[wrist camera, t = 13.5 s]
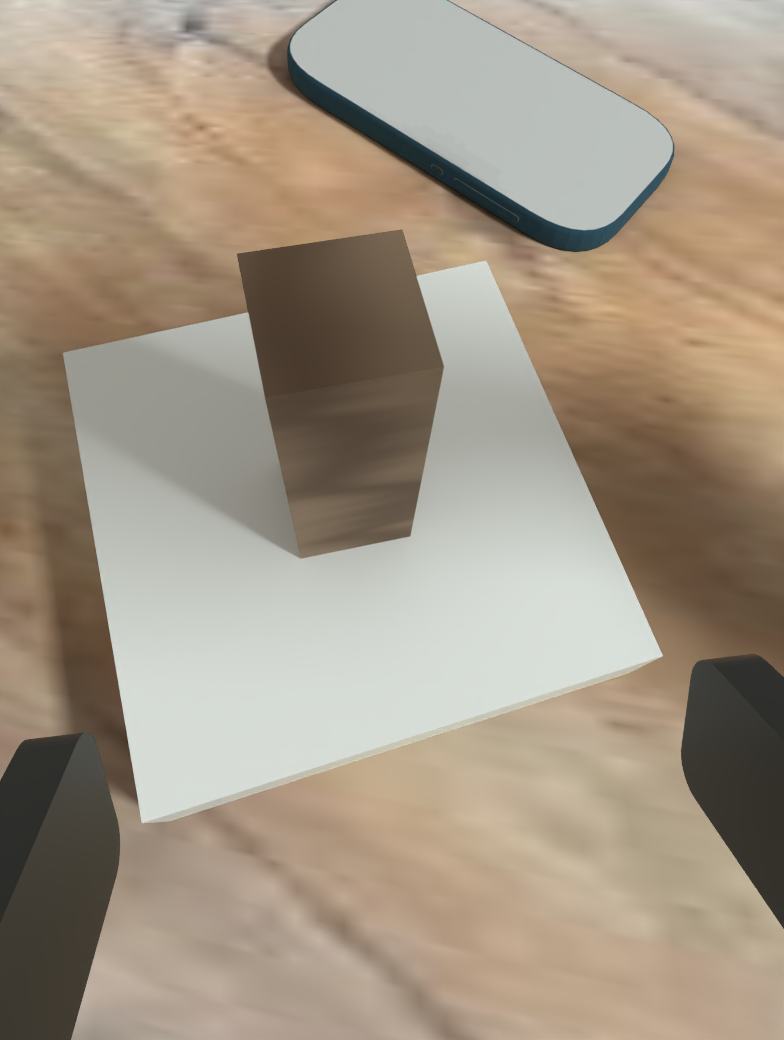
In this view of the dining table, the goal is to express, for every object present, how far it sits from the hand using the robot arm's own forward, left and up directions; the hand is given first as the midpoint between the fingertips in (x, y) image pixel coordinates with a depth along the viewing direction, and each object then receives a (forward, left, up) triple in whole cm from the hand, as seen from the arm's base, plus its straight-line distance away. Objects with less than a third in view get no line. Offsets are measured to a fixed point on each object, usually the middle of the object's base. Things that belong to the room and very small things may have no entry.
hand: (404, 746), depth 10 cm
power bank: (-17, -35, -22) cm, 45 cm away
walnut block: (-2, -11, -17) cm, 20 cm away
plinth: (-2, -11, -21) cm, 24 cm away
